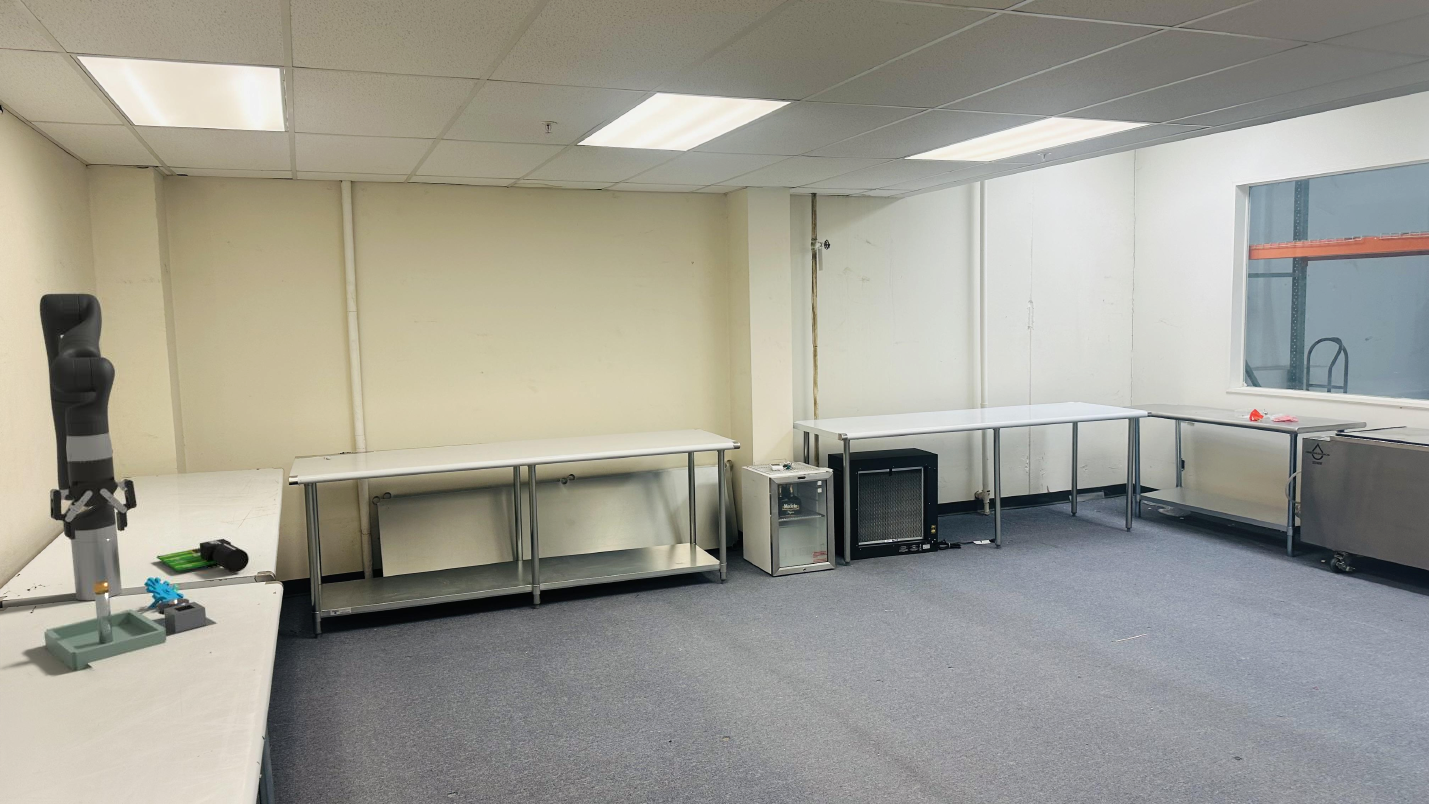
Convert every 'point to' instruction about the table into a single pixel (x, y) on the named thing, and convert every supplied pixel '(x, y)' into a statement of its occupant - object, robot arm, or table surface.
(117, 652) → the tray
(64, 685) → the table surface
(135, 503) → the robot arm
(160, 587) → the blue jagged piece
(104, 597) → the capped test tube
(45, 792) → the table surface
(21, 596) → the table surface
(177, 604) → the grey slotted holder
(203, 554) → the electronic board model
